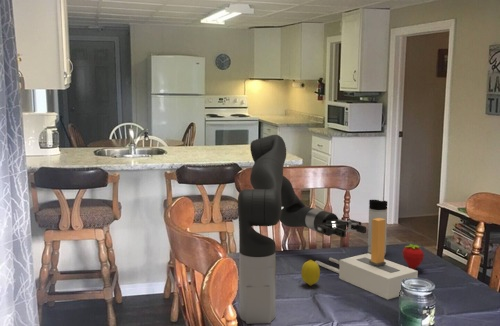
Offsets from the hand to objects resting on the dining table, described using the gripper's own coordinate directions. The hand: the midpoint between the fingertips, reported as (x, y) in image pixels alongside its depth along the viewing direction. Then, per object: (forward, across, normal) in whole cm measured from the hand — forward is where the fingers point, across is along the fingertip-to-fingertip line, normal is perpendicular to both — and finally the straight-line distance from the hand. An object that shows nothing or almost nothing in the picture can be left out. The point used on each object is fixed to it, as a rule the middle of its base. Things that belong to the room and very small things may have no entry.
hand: (355, 232), depth 166 cm
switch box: (+10, 0, +14) cm, 17 cm away
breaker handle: (+10, 0, +7) cm, 12 cm away
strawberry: (+7, +19, +14) cm, 25 cm away
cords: (-8, 0, +14) cm, 16 cm away
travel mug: (-12, +22, +14) cm, 28 cm away
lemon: (0, -17, +14) cm, 22 cm away
